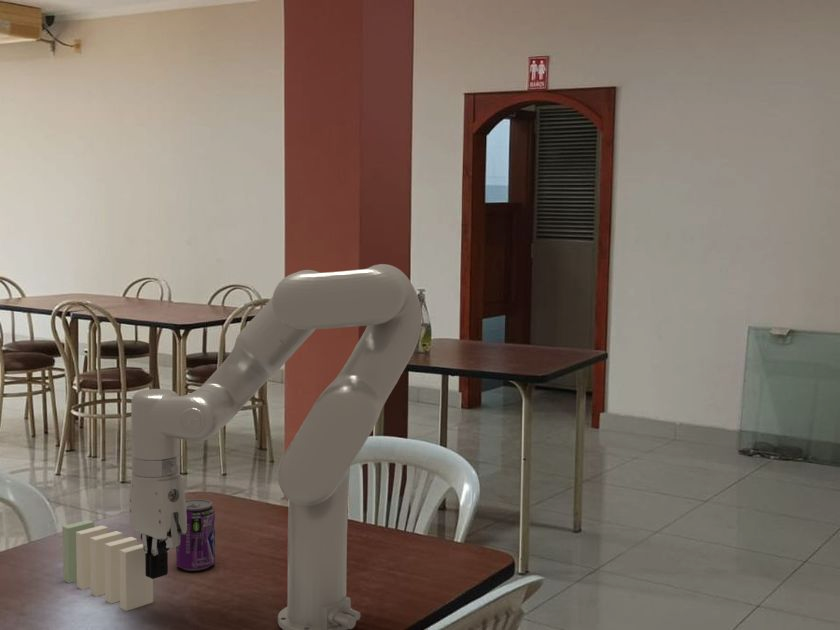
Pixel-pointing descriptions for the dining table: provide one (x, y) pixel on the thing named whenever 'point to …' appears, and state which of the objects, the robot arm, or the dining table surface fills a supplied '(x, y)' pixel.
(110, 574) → the tile
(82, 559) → the tile
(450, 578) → the dining table surface
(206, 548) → the beverage can
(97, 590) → the tile
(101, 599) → the dining table surface
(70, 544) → the tile
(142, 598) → the tile
